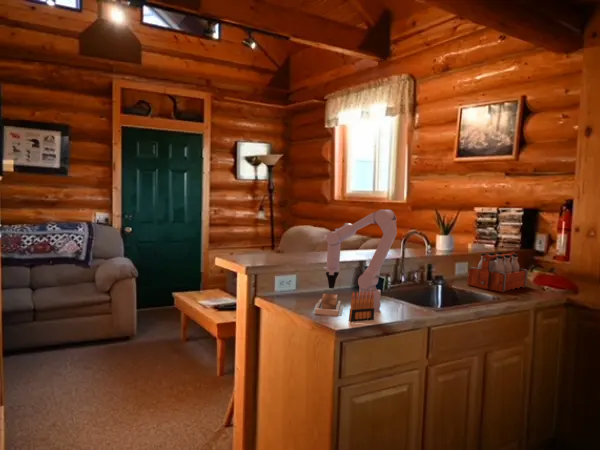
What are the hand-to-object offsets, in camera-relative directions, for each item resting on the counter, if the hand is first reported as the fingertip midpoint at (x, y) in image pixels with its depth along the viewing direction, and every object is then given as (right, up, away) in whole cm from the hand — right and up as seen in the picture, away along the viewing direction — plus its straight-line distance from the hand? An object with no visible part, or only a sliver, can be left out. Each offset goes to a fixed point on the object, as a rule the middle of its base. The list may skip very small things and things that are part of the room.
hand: (331, 288), depth 215 cm
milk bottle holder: (+100, -7, +62) cm, 118 cm away
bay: (-2, -8, -13) cm, 15 cm away
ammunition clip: (+10, -10, -27) cm, 30 cm away
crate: (-2, -7, -9) cm, 12 cm away
